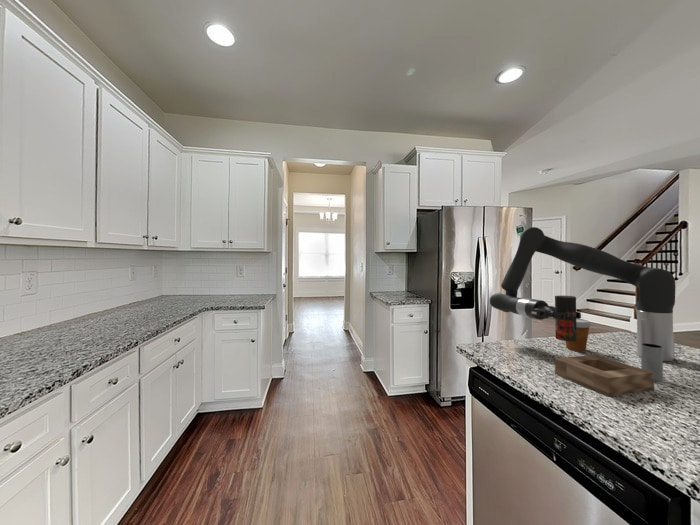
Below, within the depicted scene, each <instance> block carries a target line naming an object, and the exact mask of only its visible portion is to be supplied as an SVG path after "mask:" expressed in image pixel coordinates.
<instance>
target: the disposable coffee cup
mask: <svg viewBox="0 0 700 525" xmlns="http://www.w3.org/2000/svg"><path fill="white" fill-rule="evenodd" d="M590 327H591V323H590V321H589V320H588V319H584V318H580V319H577V318H576V328H577V341H573V342H570V341H564V342H565V347H566V349H567V348H568V349H567V350H569V349H570V350H569V351H573V350H575V352H585V351H587V344H588V338H589V330H590Z"/></svg>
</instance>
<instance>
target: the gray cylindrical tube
mask: <svg viewBox="0 0 700 525" xmlns="http://www.w3.org/2000/svg"><path fill="white" fill-rule="evenodd" d="M640 358H641V369H644V370H647V371H650V372H654V382H656V383H657V382H663V381H664V361H663V347H662V346H660V345H655V344H648V343H643V344H641V356H640Z"/></svg>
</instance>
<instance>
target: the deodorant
mask: <svg viewBox="0 0 700 525" xmlns="http://www.w3.org/2000/svg"><path fill="white" fill-rule="evenodd" d="M554 307H555V312H559V313H564V314H565V320H561V319H556V318H554V319H555V322H554V323H555V328H554V330H555V339H556V340H559V341H561V342H562V341H564V342H565V341H570V342H573V341H577V328H576V312H577V297H576V296H574V295H554Z"/></svg>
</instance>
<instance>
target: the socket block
mask: <svg viewBox="0 0 700 525" xmlns="http://www.w3.org/2000/svg"><path fill="white" fill-rule="evenodd" d="M554 374H555V375H556V374H557V376H558V377H561V378H563V379H566V380H568V381H570V382H572V383H573V382H574V383H575V384H578V385H581V386H583V387H584V388H588V389H590V390H592V391H594V392H597V393H599V394H602V395H603V396H606V397H608V398H609V397H610V396H611V397H616V396H617V395H618V396H623V395H624V394H625V395H631V394H637V393H644V392H645V393H646V392H652V391H655V381H654V372H650V371H647V370H644V369H642V368H640V367H637V366H634V365H630V364H626V363H624V362H620V361H616V360H613V359H611V358H607V357H603V356H602V355H601V356H600V355H598V354H586V355H578V356H577V355H576V356H567V357H556V358H554Z"/></svg>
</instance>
